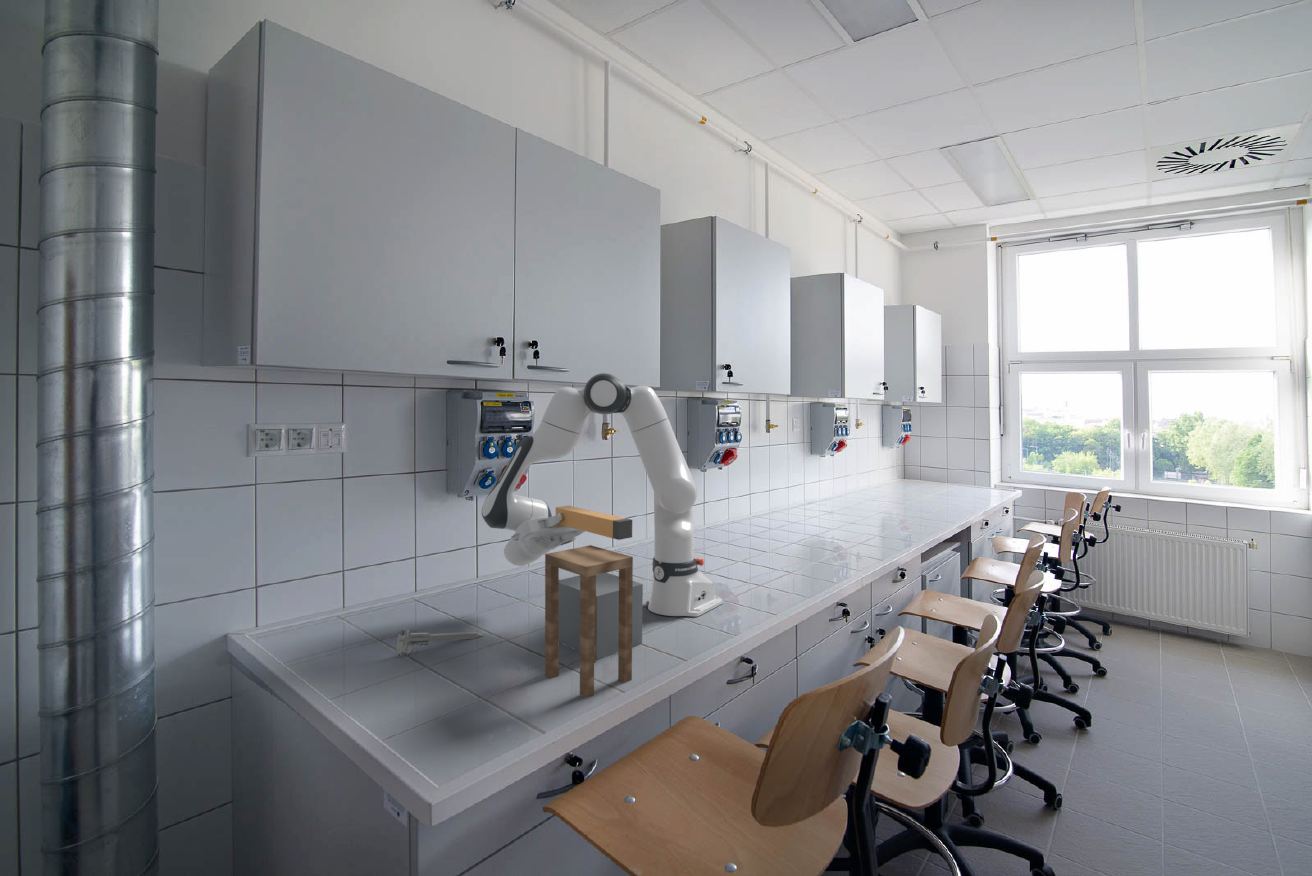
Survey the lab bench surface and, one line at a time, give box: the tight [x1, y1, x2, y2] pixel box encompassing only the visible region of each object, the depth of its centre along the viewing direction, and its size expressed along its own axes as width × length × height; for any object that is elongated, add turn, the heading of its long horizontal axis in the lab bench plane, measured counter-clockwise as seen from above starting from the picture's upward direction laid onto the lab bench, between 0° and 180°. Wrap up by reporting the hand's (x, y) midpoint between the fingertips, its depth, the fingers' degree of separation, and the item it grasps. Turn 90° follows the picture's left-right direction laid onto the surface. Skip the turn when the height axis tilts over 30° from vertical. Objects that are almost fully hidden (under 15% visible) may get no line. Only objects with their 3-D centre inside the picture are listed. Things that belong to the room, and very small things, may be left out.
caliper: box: [395, 628, 483, 658], centre depth 149 cm, size 20×1×6 cm, turn 131°
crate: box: [559, 572, 644, 661], centre depth 152 cm, size 14×16×14 cm
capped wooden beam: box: [555, 505, 633, 541], centre depth 149 cm, size 4×24×4 cm, turn 44°
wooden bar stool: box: [544, 544, 634, 699], centre depth 132 cm, size 12×14×26 cm
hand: (571, 514), depth 155 cm, fingers closed on capped wooden beam, 4 cm apart
